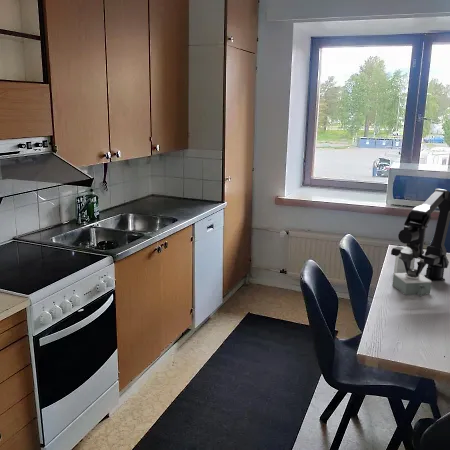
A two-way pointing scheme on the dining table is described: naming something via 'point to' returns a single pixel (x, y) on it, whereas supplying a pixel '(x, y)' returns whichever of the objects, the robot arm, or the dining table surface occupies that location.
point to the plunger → (412, 274)
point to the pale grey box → (411, 284)
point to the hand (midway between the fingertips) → (412, 274)
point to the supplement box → (401, 265)
